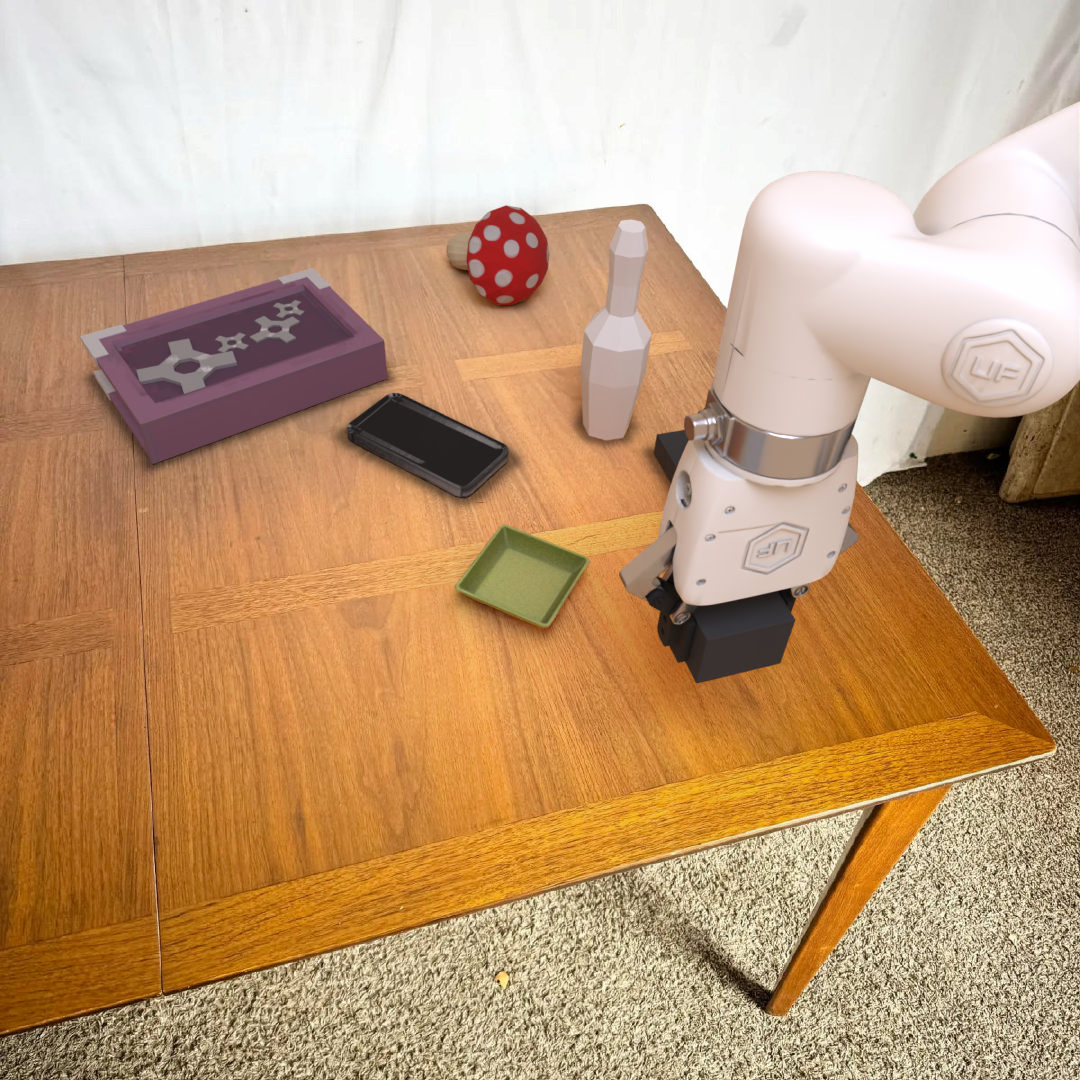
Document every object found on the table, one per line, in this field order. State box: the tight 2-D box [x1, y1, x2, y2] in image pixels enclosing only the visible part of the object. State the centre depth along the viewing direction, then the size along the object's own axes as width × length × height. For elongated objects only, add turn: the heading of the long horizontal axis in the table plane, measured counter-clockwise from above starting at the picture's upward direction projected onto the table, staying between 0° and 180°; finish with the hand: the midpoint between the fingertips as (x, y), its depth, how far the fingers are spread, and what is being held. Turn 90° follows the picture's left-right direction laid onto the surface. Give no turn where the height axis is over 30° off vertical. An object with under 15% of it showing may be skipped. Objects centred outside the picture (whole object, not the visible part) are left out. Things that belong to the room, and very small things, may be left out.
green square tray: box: [454, 524, 591, 629], centre depth 81 cm, size 9×9×2 cm
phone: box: [346, 392, 510, 498], centre depth 94 cm, size 8×1×15 cm
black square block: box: [684, 591, 796, 684], centre depth 62 cm, size 6×6×4 cm
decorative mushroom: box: [446, 204, 550, 307], centre depth 113 cm, size 11×11×15 cm
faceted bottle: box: [580, 219, 653, 441], centre depth 90 cm, size 6×6×22 cm
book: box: [79, 267, 388, 465], centre depth 99 cm, size 25×16×5 cm, turn 126°
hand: (721, 632), depth 63 cm, fingers closed on black square block, 6 cm apart
